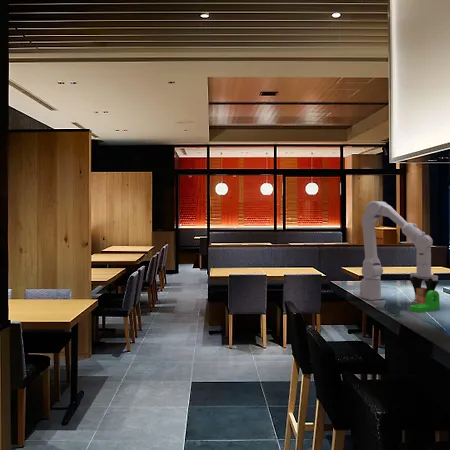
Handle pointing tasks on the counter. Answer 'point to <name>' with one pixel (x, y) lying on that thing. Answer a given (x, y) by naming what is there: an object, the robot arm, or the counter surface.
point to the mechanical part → (427, 303)
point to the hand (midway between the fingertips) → (423, 296)
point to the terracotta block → (421, 295)
